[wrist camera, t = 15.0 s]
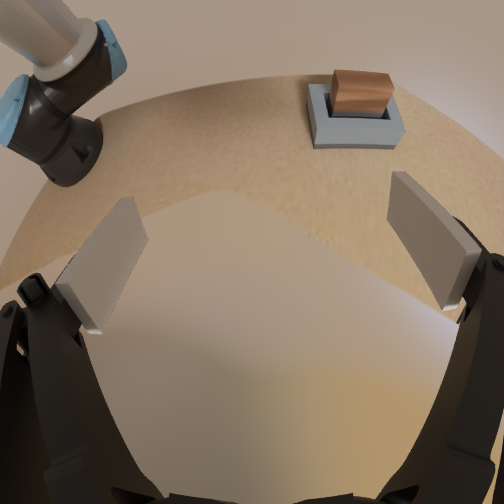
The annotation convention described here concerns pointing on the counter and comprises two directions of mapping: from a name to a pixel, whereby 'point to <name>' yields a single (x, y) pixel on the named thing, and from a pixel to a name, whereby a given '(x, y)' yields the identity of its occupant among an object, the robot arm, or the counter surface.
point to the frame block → (351, 124)
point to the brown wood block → (359, 94)
